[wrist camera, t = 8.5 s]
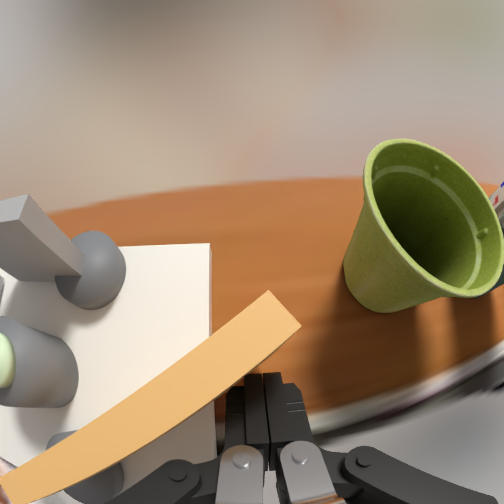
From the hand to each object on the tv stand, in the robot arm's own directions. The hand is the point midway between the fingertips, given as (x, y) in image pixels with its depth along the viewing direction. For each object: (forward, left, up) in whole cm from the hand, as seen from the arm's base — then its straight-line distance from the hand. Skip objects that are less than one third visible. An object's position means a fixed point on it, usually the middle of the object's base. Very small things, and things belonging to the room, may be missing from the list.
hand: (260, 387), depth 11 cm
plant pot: (+9, +7, -5) cm, 13 cm away
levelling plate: (-13, 0, -5) cm, 14 cm away
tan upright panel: (-6, -3, -3) cm, 7 cm away
